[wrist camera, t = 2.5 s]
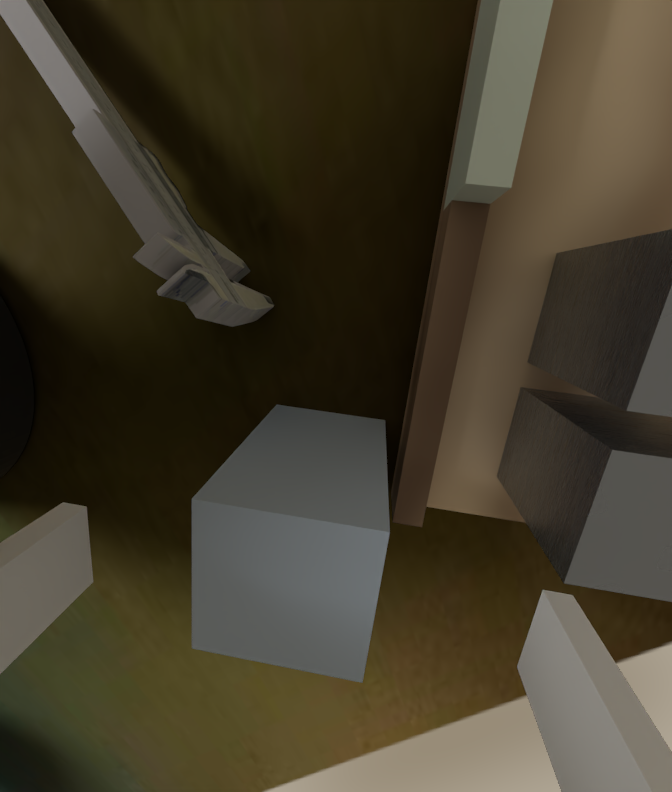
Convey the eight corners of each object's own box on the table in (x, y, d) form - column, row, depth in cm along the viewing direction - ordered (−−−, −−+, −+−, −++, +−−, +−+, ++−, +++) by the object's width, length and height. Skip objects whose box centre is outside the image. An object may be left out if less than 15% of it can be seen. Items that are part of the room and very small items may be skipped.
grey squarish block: (496, 476, 16) (564, 583, 10) (520, 386, 15) (612, 449, 9) (618, 495, 15) (761, 617, 10) (653, 404, 14) (839, 482, 8)
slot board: (390, 491, 17) (392, 522, 15) (521, -246, 10) (561, -396, 8) (691, 539, 16) (741, 580, 14) (1056, -243, 9) (1273, -414, 7)
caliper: (279, 305, 16) (219, 314, 10) (260, 320, 16) (191, 338, 10) (-85, -189, 13) (-505, -623, 7) (-101, -159, 13) (-518, -549, 7)
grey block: (270, 499, 18) (192, 648, 11) (276, 404, 17) (191, 498, 9) (369, 515, 18) (362, 682, 10) (385, 420, 16) (389, 532, 9)
